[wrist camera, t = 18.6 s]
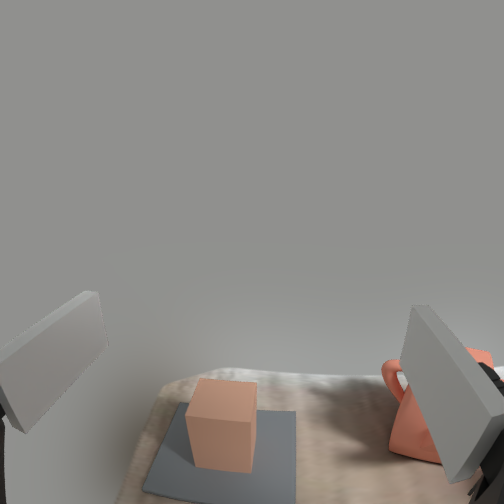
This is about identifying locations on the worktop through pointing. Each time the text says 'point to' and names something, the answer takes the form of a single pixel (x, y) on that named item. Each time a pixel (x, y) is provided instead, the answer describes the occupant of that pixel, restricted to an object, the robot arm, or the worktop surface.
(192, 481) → the mat
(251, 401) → the block
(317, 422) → the worktop surface
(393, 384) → the teapot
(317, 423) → the worktop surface
